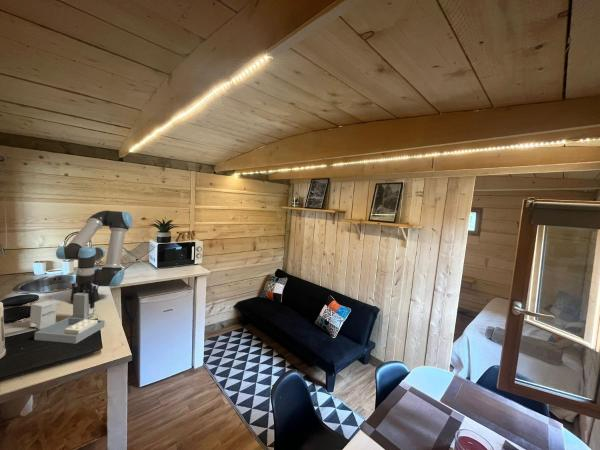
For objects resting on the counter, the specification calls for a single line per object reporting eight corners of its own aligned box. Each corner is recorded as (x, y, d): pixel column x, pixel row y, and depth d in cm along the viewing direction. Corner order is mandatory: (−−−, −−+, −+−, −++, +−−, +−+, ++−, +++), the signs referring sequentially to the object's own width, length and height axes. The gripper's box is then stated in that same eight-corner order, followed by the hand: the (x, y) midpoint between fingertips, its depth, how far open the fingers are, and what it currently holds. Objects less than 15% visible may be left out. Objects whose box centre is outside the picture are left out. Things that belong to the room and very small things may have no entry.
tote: (68, 325, 139) (68, 317, 139) (104, 328, 139) (104, 320, 139) (34, 341, 121) (34, 332, 121) (75, 345, 121) (76, 336, 121)
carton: (84, 328, 136) (85, 317, 136) (97, 329, 136) (97, 318, 136) (63, 338, 124) (64, 327, 124) (78, 340, 124) (78, 328, 124)
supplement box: (39, 329, 132) (41, 306, 131) (29, 327, 133) (30, 304, 133) (55, 324, 139) (57, 301, 138) (45, 321, 140) (47, 299, 140)
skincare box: (83, 315, 150) (83, 289, 149) (95, 315, 150) (96, 289, 149) (71, 321, 141) (71, 293, 140) (84, 321, 142) (84, 294, 141)
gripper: (62, 274, 140) (60, 313, 142) (97, 277, 141) (95, 317, 142) (74, 270, 148) (72, 308, 149) (107, 274, 148) (105, 311, 149)
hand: (83, 312), depth 145 cm, fingers closed on skincare box, 7 cm apart
